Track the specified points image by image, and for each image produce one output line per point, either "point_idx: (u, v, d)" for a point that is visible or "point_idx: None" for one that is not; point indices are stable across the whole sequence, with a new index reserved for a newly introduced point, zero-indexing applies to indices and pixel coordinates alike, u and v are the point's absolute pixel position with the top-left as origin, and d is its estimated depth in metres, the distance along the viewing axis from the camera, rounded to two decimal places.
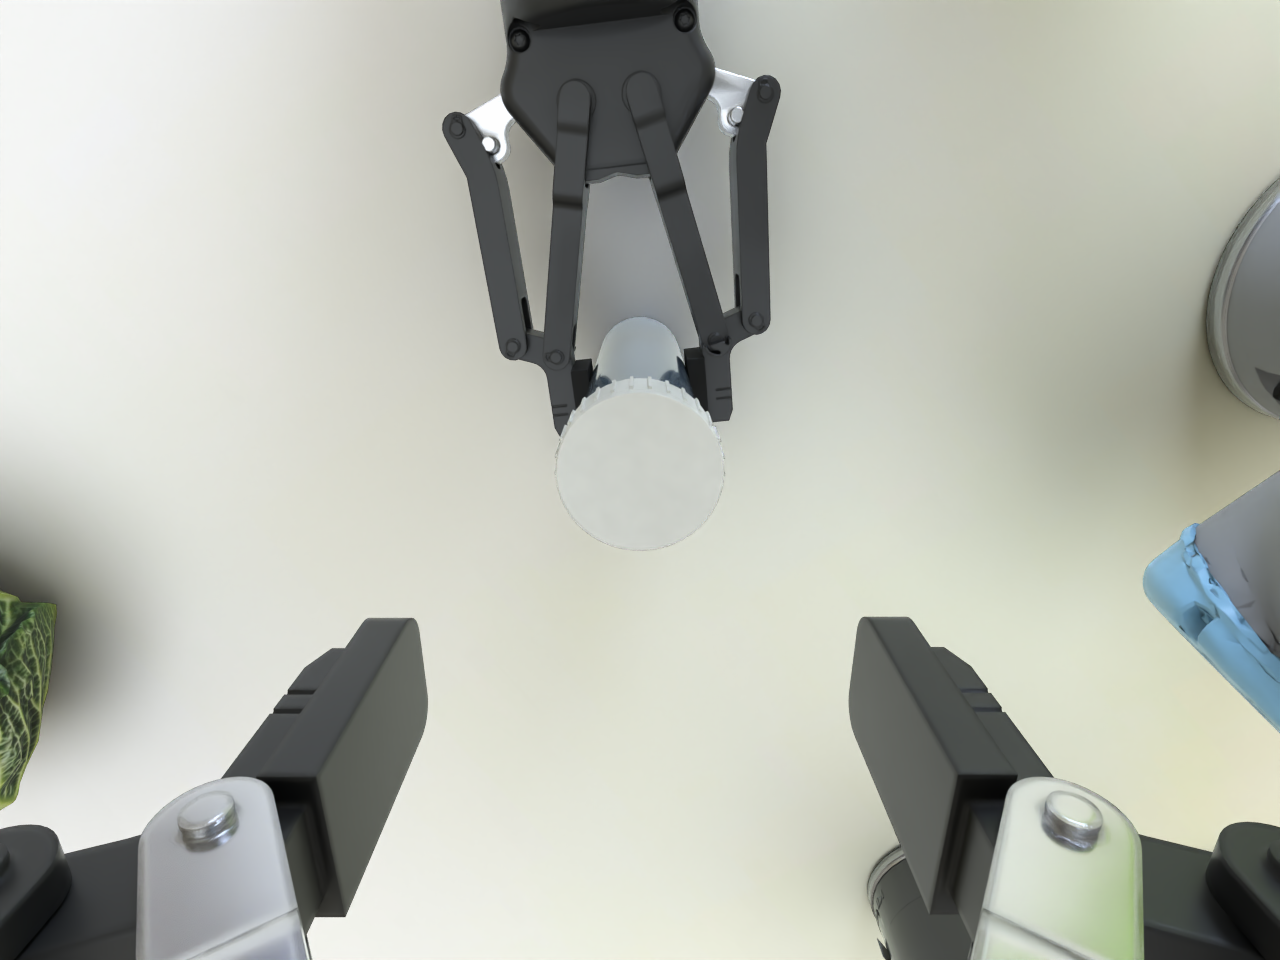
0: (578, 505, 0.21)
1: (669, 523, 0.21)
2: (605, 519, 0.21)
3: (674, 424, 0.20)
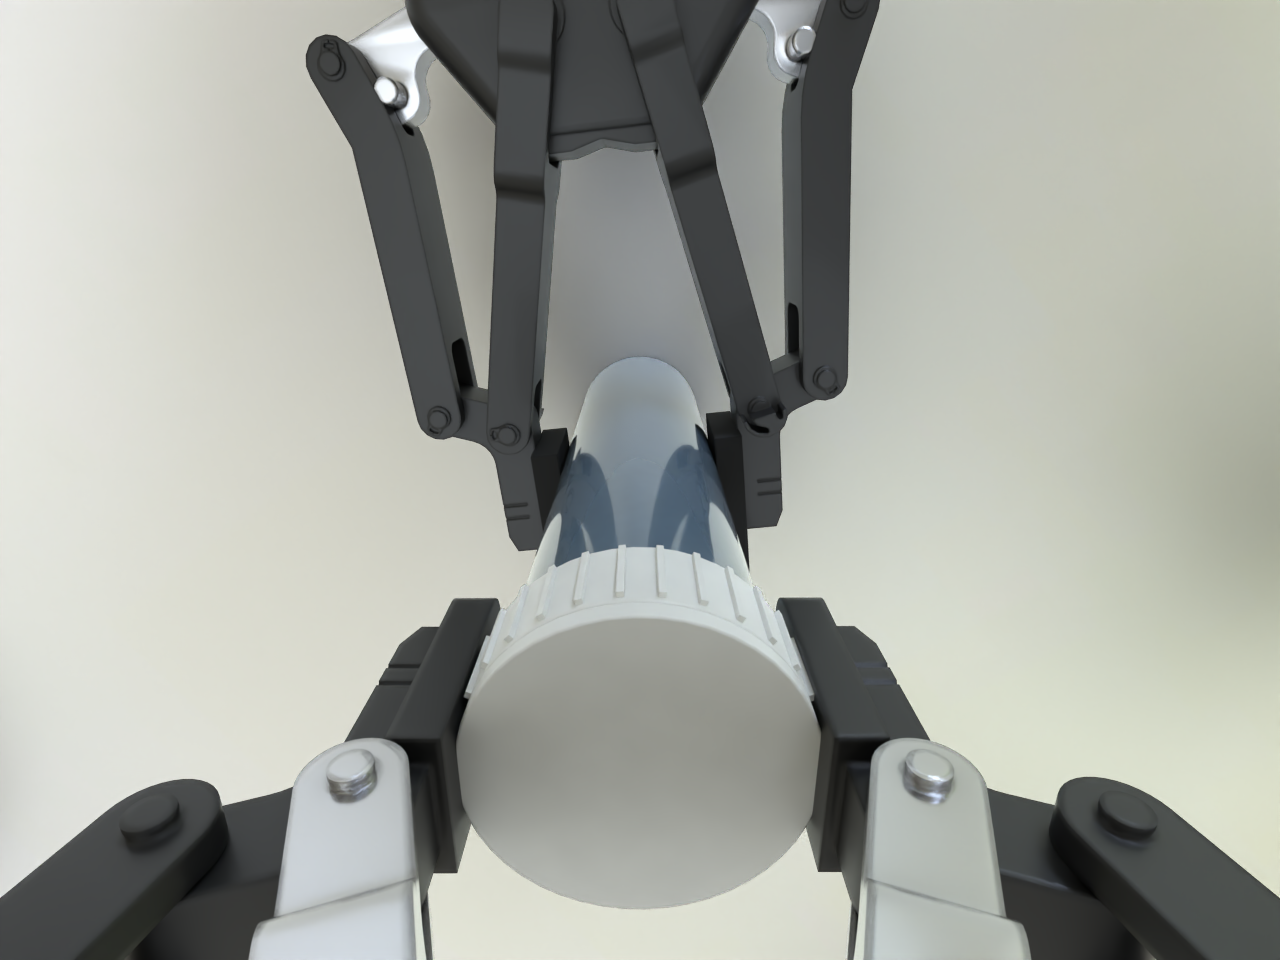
0: (507, 832, 0.10)
1: (702, 863, 0.10)
2: (565, 856, 0.10)
3: (718, 680, 0.09)
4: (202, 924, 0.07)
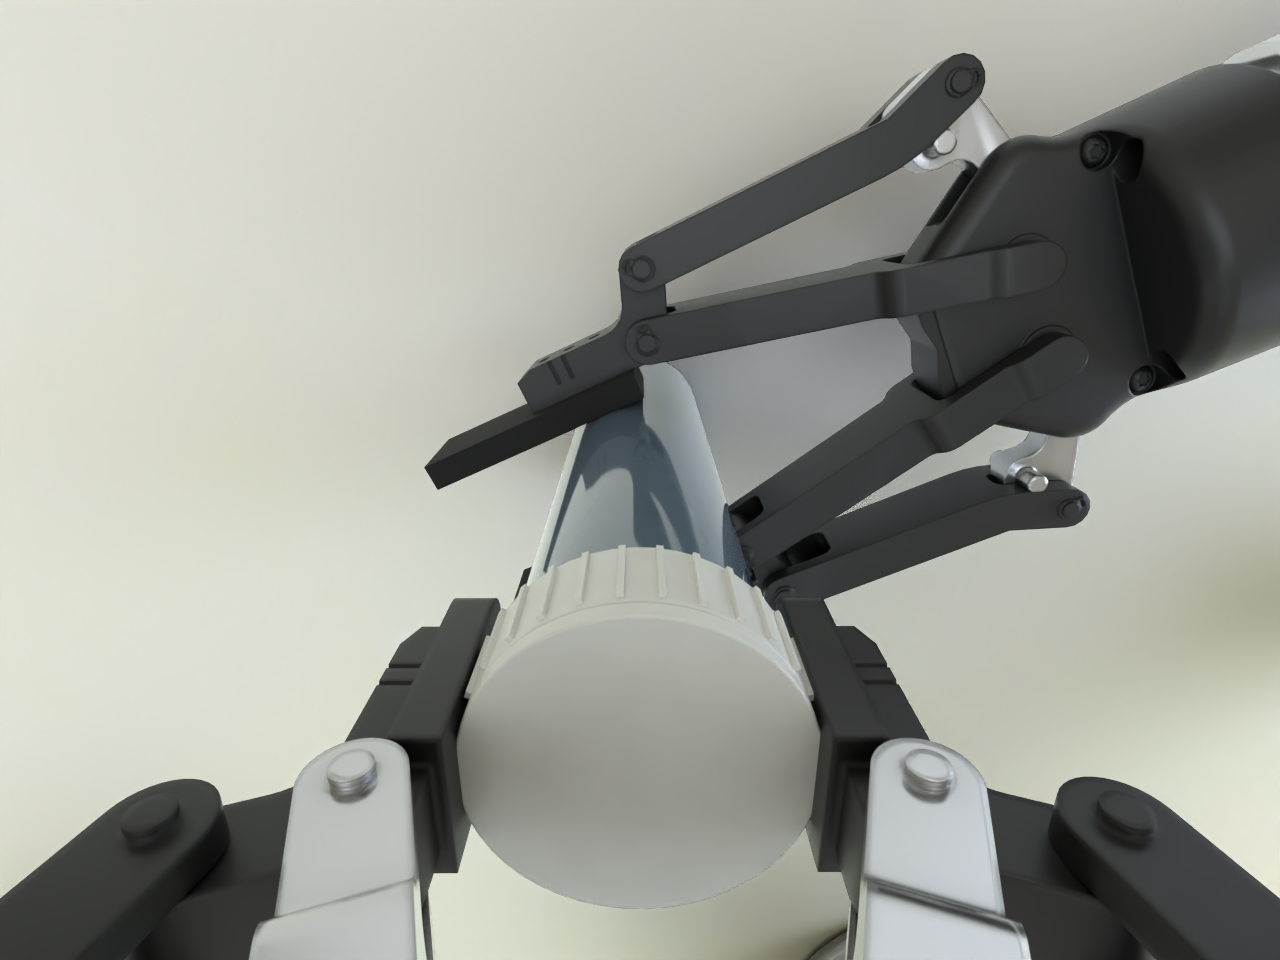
0: (507, 832, 0.10)
1: (702, 862, 0.10)
2: (566, 856, 0.10)
3: (717, 680, 0.09)
4: (202, 924, 0.07)
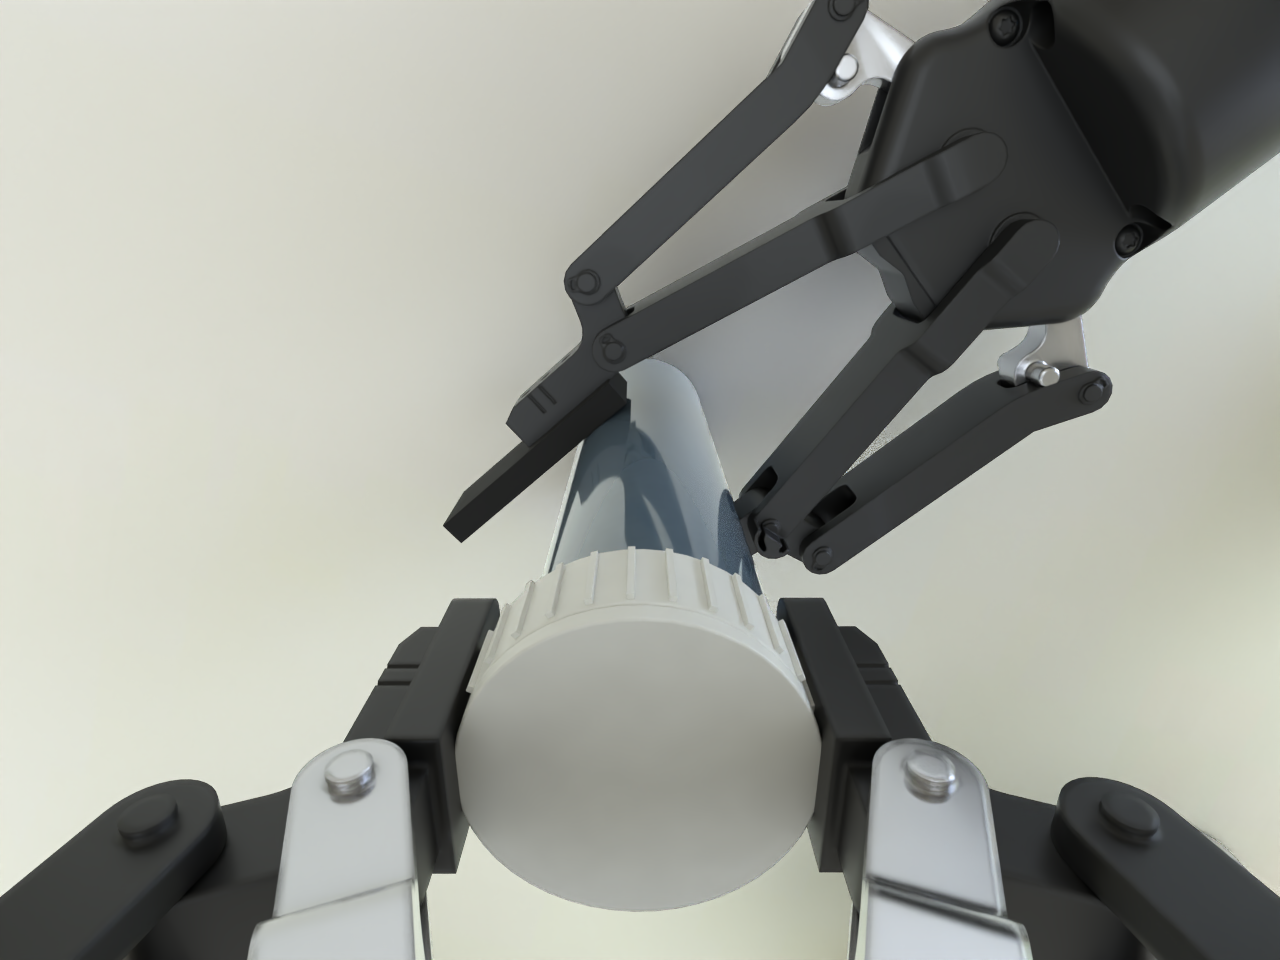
0: (660, 892, 0.10)
1: (772, 758, 0.09)
2: (710, 860, 0.10)
3: (548, 690, 0.09)
4: (200, 925, 0.07)
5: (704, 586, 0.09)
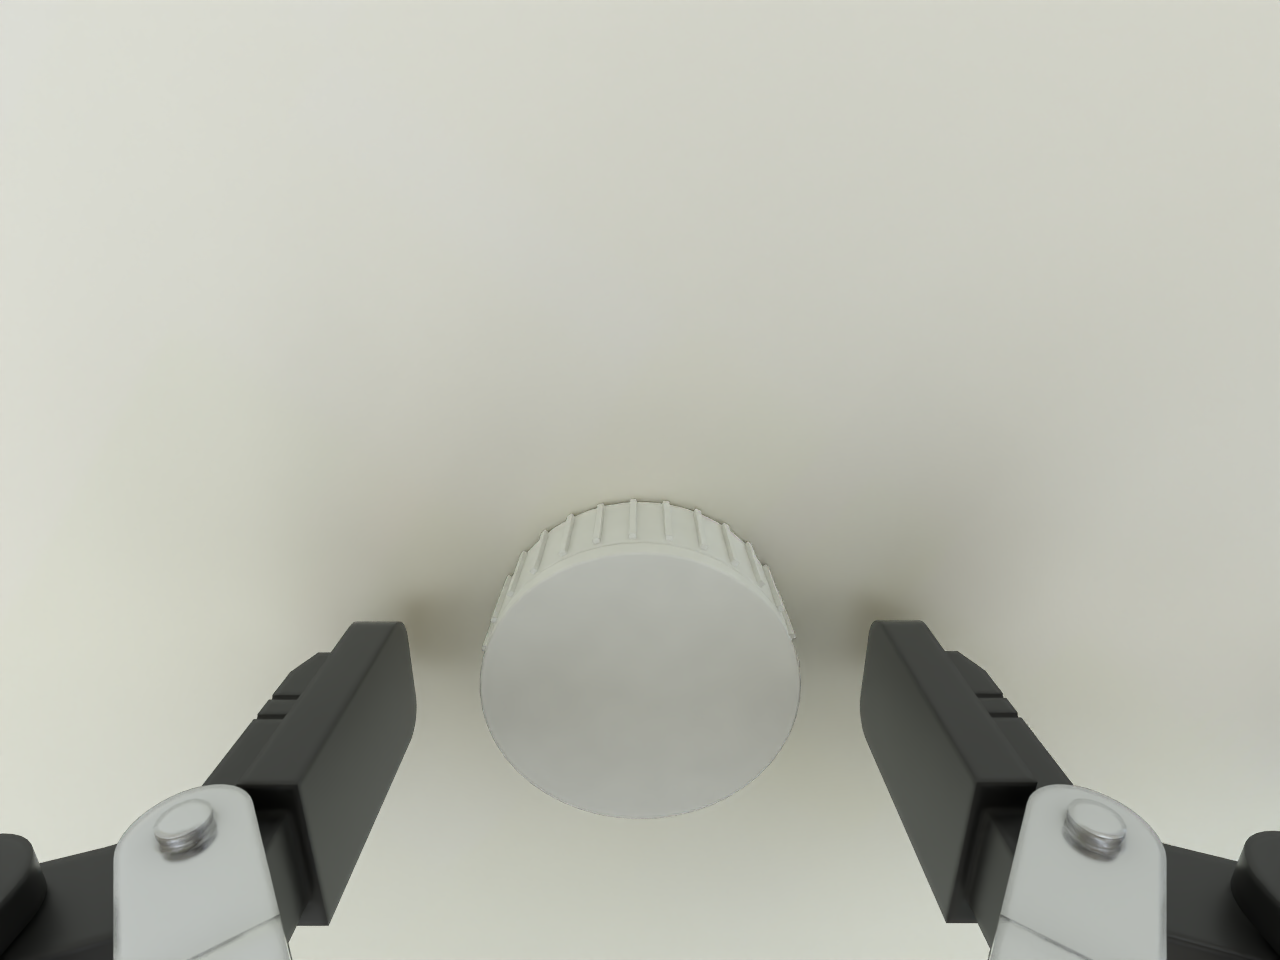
0: (659, 800, 0.11)
1: (755, 677, 0.11)
2: (702, 770, 0.11)
3: (562, 616, 0.10)
4: None
5: (696, 530, 0.11)
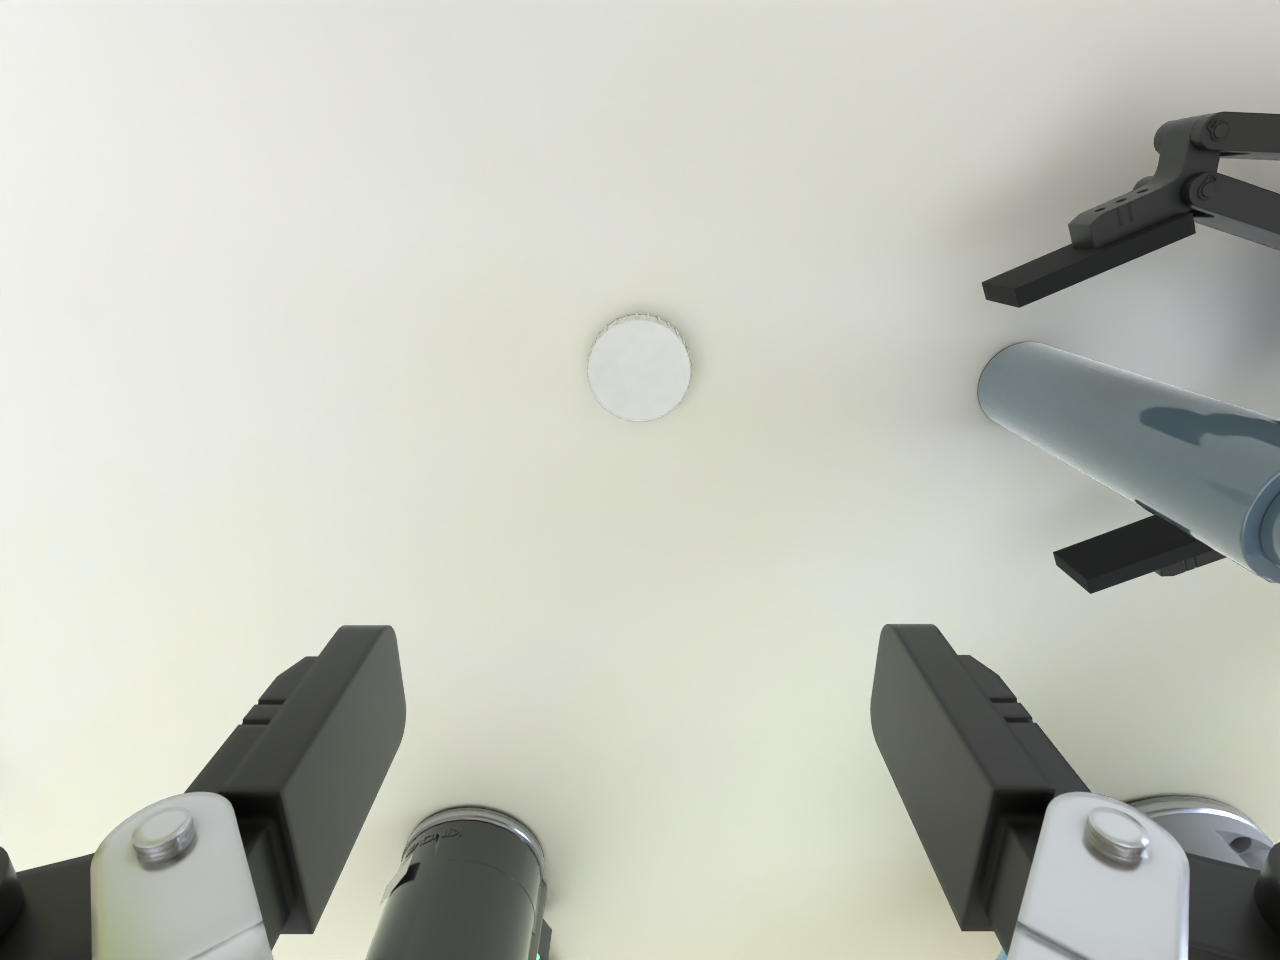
0: (645, 413, 0.34)
1: (675, 365, 0.33)
2: (660, 401, 0.34)
3: (615, 342, 0.33)
4: None
5: (657, 320, 0.33)
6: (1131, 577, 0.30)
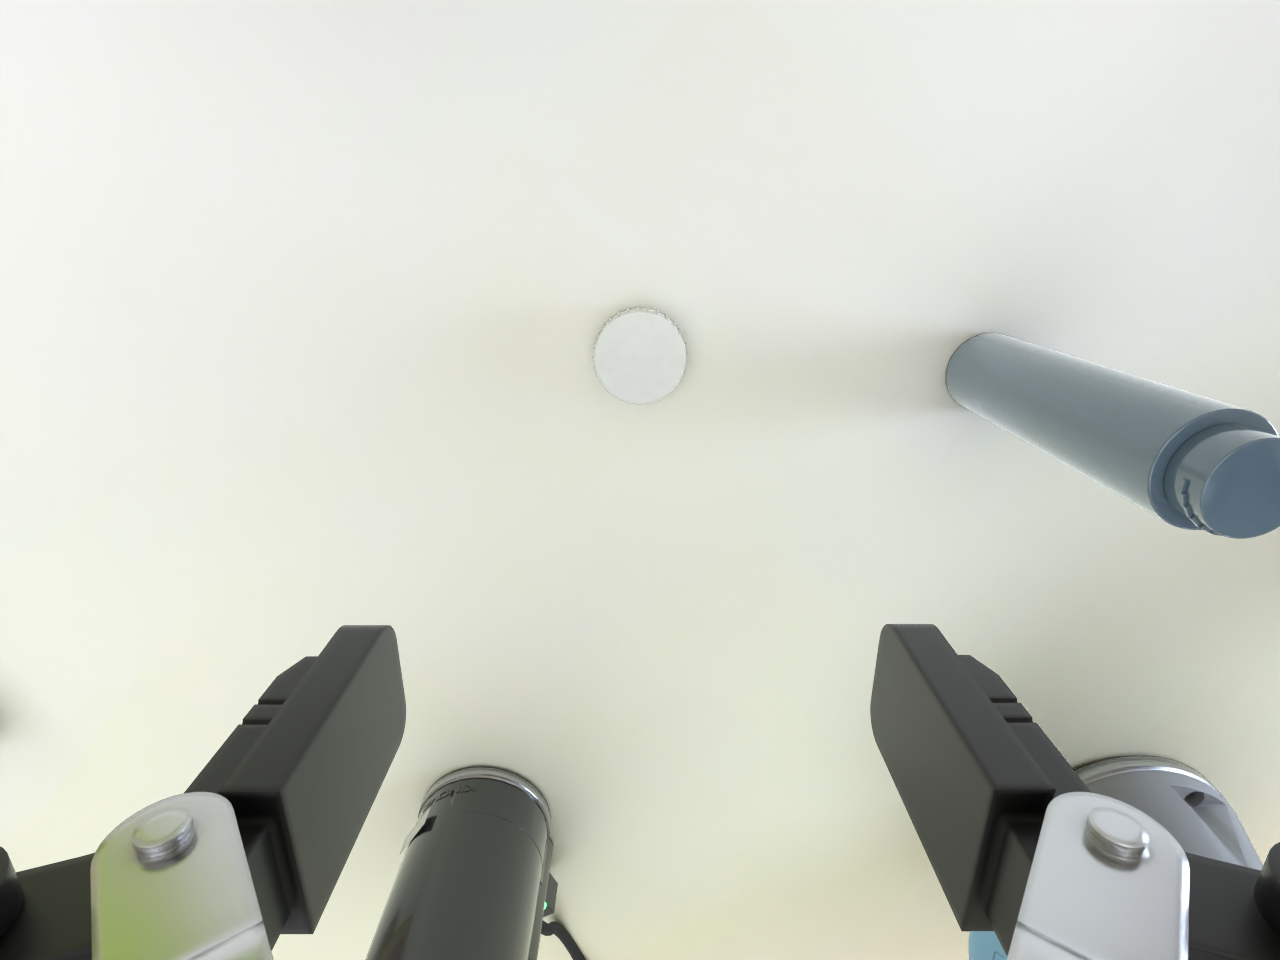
0: (645, 396, 0.38)
1: (672, 352, 0.37)
2: (658, 385, 0.38)
3: (618, 332, 0.37)
4: None
5: (656, 312, 0.37)
6: None
